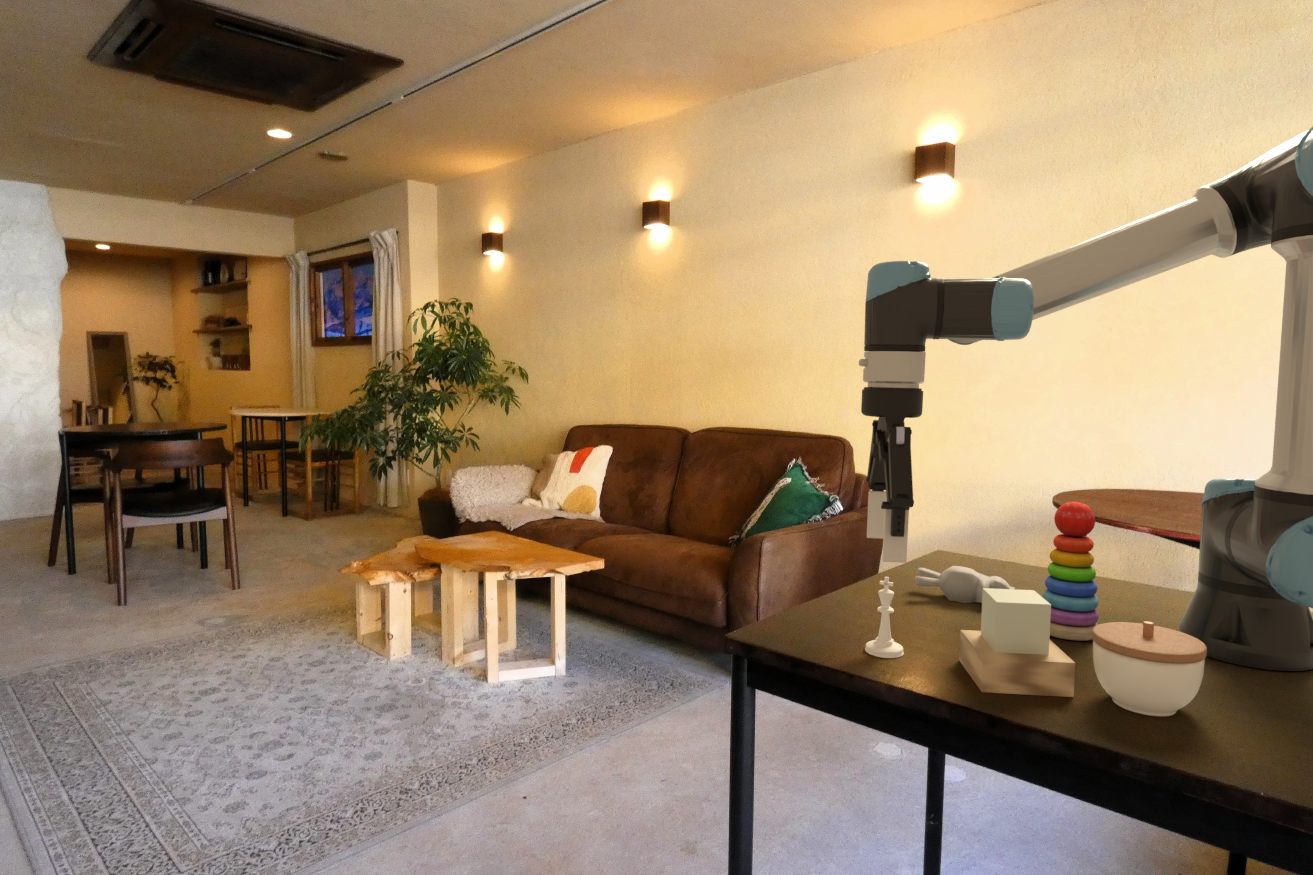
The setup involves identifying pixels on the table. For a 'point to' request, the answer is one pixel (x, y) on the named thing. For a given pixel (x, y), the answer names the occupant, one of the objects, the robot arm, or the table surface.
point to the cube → (1015, 621)
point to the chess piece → (885, 627)
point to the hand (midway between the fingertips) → (885, 549)
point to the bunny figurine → (960, 583)
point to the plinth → (1016, 669)
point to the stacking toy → (1072, 575)
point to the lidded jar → (1148, 666)
